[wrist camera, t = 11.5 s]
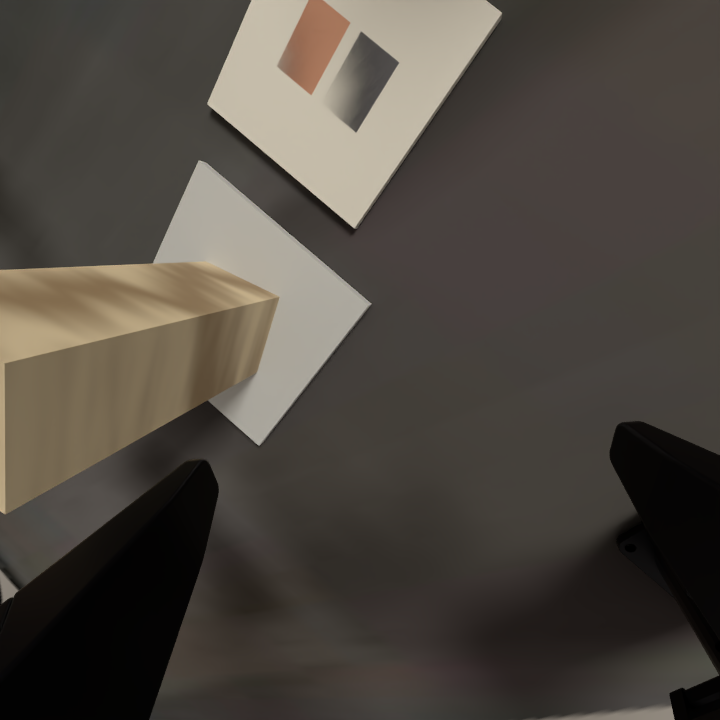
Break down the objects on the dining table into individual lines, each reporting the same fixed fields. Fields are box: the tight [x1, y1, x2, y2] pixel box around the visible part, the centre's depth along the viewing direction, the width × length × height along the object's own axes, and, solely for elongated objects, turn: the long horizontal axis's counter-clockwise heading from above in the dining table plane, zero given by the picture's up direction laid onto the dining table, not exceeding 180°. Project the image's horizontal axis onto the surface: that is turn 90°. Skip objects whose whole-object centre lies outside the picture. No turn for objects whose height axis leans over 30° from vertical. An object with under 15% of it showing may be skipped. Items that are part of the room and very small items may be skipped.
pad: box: [153, 161, 371, 446], centre depth 22 cm, size 12×12×1 cm
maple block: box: [0, 261, 280, 514], centre depth 16 cm, size 5×5×13 cm
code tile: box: [208, 0, 502, 229], centre depth 17 cm, size 10×10×1 cm
